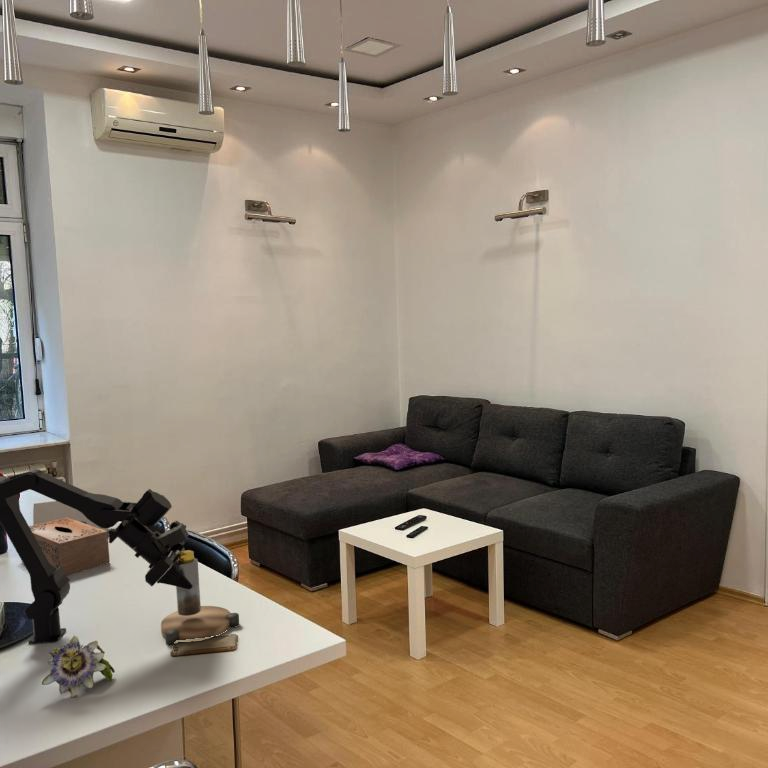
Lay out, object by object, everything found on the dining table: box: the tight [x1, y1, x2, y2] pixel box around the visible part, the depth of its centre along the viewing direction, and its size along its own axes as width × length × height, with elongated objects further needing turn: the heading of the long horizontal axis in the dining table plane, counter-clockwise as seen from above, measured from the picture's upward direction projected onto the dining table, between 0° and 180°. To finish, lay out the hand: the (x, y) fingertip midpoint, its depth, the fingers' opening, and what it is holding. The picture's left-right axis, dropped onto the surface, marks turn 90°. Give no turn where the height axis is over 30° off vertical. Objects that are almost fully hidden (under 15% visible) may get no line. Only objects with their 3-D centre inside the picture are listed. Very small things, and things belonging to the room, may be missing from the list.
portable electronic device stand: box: [32, 500, 108, 532], centre depth 259 cm, size 23×23×9 cm
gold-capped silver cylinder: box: [175, 549, 202, 616], centre depth 180 cm, size 5×5×14 cm
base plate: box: [160, 605, 240, 646], centre depth 181 cm, size 17×18×2 cm
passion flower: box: [41, 635, 115, 698], centre depth 155 cm, size 11×11×12 cm
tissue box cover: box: [28, 517, 111, 576], centre depth 233 cm, size 26×14×10 cm, turn 48°
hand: (193, 583), depth 180 cm, fingers closed on gold-capped silver cylinder, 5 cm apart
